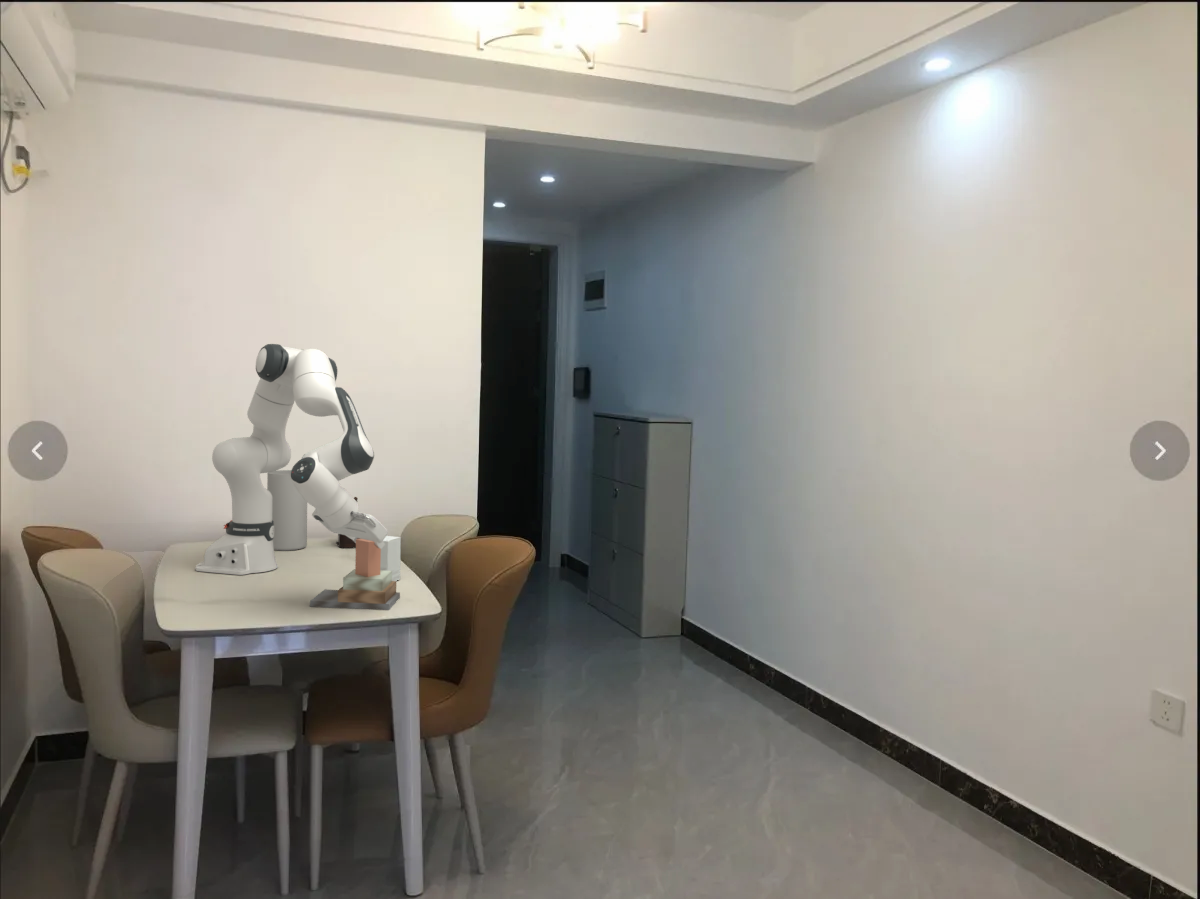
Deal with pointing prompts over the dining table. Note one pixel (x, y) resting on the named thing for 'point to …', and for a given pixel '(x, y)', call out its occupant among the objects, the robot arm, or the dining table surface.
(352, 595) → the build plinth
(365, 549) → the block
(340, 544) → the manual coffee grinder
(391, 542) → the supplement box
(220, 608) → the dining table surface
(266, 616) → the dining table surface
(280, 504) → the cylinder vase
